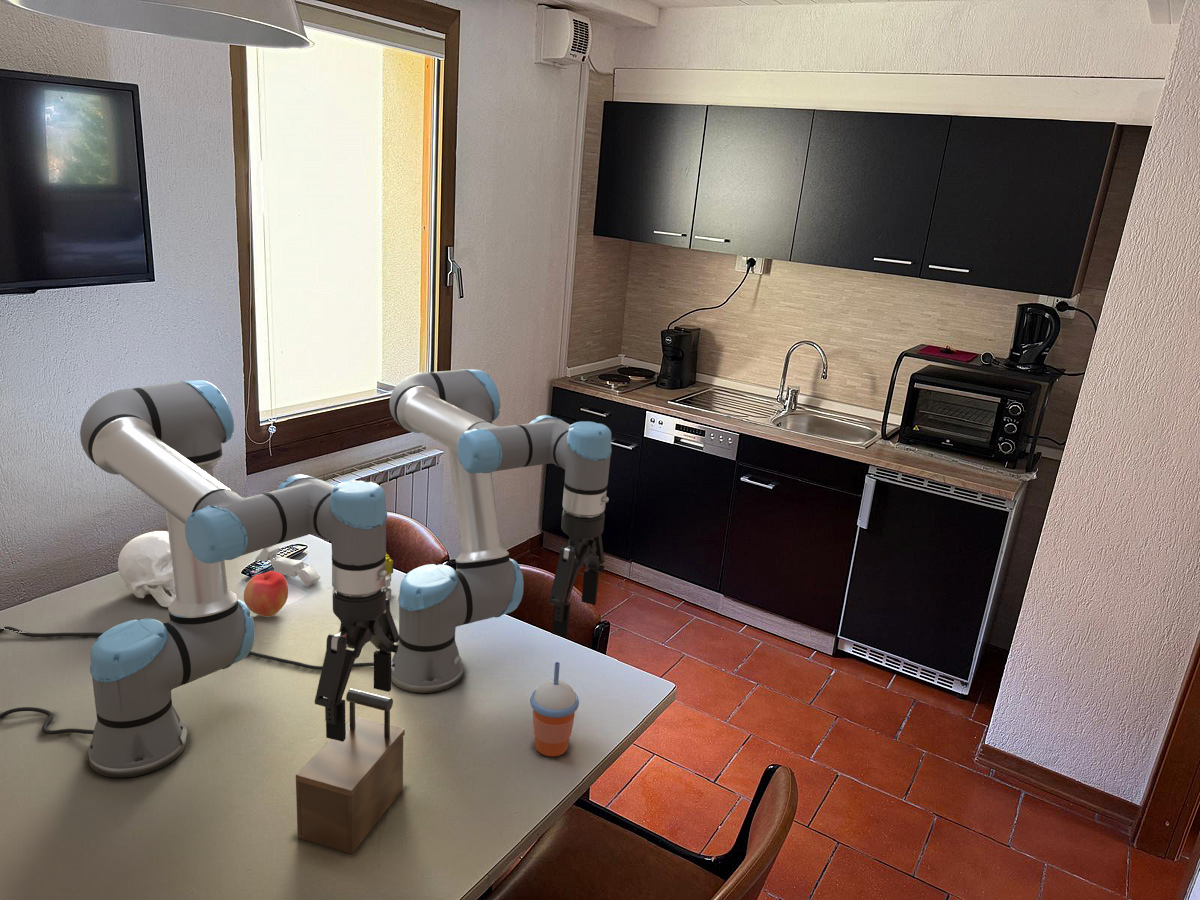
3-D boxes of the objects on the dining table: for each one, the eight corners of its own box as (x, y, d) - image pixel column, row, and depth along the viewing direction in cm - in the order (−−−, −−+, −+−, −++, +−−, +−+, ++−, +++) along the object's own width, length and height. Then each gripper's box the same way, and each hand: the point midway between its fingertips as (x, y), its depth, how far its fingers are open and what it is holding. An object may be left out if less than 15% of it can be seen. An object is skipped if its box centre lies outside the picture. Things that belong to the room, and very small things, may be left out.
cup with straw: (568, 766, 157) (575, 680, 152) (521, 756, 158) (526, 671, 153) (580, 737, 165) (586, 655, 160) (534, 728, 167) (540, 646, 162)
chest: (352, 775, 150) (352, 723, 147) (402, 789, 148) (403, 736, 145) (297, 837, 135) (295, 781, 132) (352, 854, 133) (351, 797, 130)
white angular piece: (253, 565, 223) (254, 542, 221) (265, 560, 226) (266, 537, 224) (309, 593, 215) (310, 569, 213) (320, 588, 218) (321, 564, 216)
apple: (273, 600, 207) (272, 562, 204) (297, 613, 202) (296, 575, 199) (237, 614, 200) (234, 575, 197) (261, 628, 194) (259, 588, 191)
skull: (182, 617, 196) (179, 553, 192) (106, 597, 202) (101, 535, 198) (223, 594, 209) (221, 534, 205) (149, 577, 214) (146, 517, 210)
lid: (353, 721, 148) (353, 678, 145) (404, 734, 145) (405, 691, 143) (295, 780, 132) (294, 733, 130) (351, 796, 130) (351, 749, 127)
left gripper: (335, 631, 112) (337, 768, 118) (421, 558, 135) (420, 675, 141) (285, 620, 114) (290, 755, 120) (378, 550, 137) (379, 666, 143)
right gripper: (576, 539, 137) (566, 655, 144) (627, 493, 160) (617, 595, 166) (533, 529, 140) (526, 644, 146) (590, 485, 162) (581, 586, 168)
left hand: (360, 712), depth 131 cm, fingers open, 13 cm apart
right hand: (574, 618), depth 156 cm, fingers open, 13 cm apart
